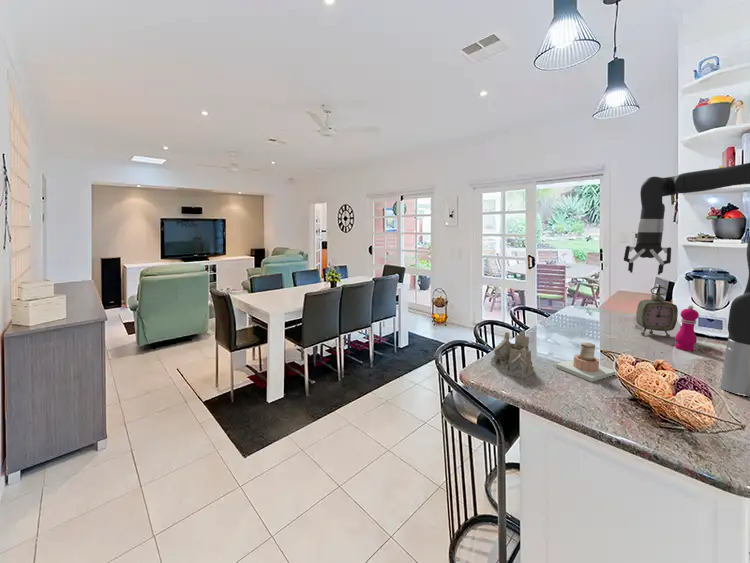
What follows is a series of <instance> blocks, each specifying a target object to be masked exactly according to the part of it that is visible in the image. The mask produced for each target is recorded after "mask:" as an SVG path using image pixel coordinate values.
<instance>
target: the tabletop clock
mask: <svg viewBox="0 0 750 563" xmlns="http://www.w3.org/2000/svg"><path fill="white" fill-rule="evenodd" d="M655 289H664V290H665V292H664V293H661V292H660V291H658V292H657V293H655V292H653V290H655ZM650 293H651V294H653V295H654V296H652V297H651V299H643V300H640V301H639V303H638V304H637V308H636V313H635V314H636V317H635V318H636V319H635V320H636V324H637V325H639V326H640V327H642V328H643V331H642V332H640V334H641V335H642V336H645V333H646V331H647V330H649V331H648V332H649V334H650V335H653V333H654V331H658V332H659V331H660V332H665V337H666V338H670V337H671V334H670V333H668V332H669V331H670V332H671V331H673V330H674V329H675V327H676V324H677V321H678V314H679V311H678V310H679V309H678V306H677V305H676V304H674V303H673V302H669V301H667V300H665V298H664V297H663V295H666V294H668V289H667V288H666V287H664V286H654V287H652V288H651V289H650Z"/></svg>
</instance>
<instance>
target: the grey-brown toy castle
mask: <svg viewBox="0 0 750 563" xmlns="http://www.w3.org/2000/svg"><path fill="white" fill-rule="evenodd" d="M529 343H530V336H526V330H525V329H522V330H521V331H520V332H519V334H515V339H514V343H512V342H510V332H508V331H505V332H504V339H503V340H502V341H501V342H500V343H498V345H496V346H495V347H494V349H493V353H494V354H493V356H492V357H491V359H490V365H492V366H493V367H495V368H496V369H497V370H499V371H500V372H502V373H503V374H505V375H507V376H511V377H517V378H523V379H526V378H529V377H530V376H532V375H533V374H534V373H535V372H534V371H535V370H534V368H535V367H534V366H533V361H532V351H531V350H530V349H529Z"/></svg>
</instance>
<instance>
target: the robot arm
mask: <svg viewBox="0 0 750 563" xmlns="http://www.w3.org/2000/svg"><path fill="white" fill-rule="evenodd" d="M741 185H750V162H746V163H742V164H737V165H732V166H724V167H718V168H711V169H703V170H696V171H691V172H690V171H689V172H683V173H680V174H677V175H674V176H667V177H660V176H651V177H647V178H646V179H645V180H644V181H643V182H642V184H641V186H640V195H639V196H640V203H641V210H640V218H639V219H640V220H639V222H638V226H637V227H638V228H637V236H636V243H635V244H636V245H635V246H630V245H627V246H626V247H625V252H624V256H623V261H624V262H627V263H628V268H627V271H628V272H629V273H631V274H632V273H633V270H634V262H635V261H636V260H637V259H638V258H643V259H644V258H648V259H655V260H656V261H657V262H658V263H659V264H658V270H657V275H659V276H660V275H661V274H663V272H664V265H666V264H671V259H672V247H670V246H669V247H662V241H663V234H664V227H665V226H664V218H665V212H666V207H665V204H664V203H663V197H668V196H673V195H679V194H689V193H698V192H705V191H712V190H717V189H722V188H727V187H733V186H741ZM747 240H748V242H747V246H746V260H747V267H748V278H747V283H746V286H745V289H744V292H743V294H740V295H738V296H736V297H735V298H734V299H733V300H732V302H731V304H730V308H729V313H728V321H727V332H728V337H727V343H726V349H725V355H724V361H723V367H722V372H721V377H720V378H721V379H720V385H719V388H720V387H721V388H722V389H721V388H720V389H721V390H723V389H724V390H723V391H725V390H726V391H725V392H727V391H729V392H734V393H740V394H745V395H747V396H748V397H747V398H749V397H750V235H749V236H748V239H747ZM633 250H634V251H635V253H636V254H635V255H633V257H631V258H629V255H630V253H631V252H632V251H633ZM662 251H663V252H664V254H666V260H663V258H662V257H661V256H660V255H659V254H660V253H661V252H662ZM729 392H728V393H729Z"/></svg>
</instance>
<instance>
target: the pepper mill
mask: <svg viewBox="0 0 750 563" xmlns="http://www.w3.org/2000/svg"><path fill="white" fill-rule="evenodd" d="M699 314H700V313H699V312H698V310H695V309H694V306H693V305H688V306H687V308H684V309H682V310H681V311H680V317H681V320H680V322H681V327H680V329H679V330H678V332H677V333H676V335H675V336H674V340H675V341H676V343H675V346H674V347H675V348H676V349H678V350H680V351H685V352H694V351H695V346H694V345H695V344H697V341H698V340H697V335H696V333H695V324H697V323H696V322H697V319H698V318H699Z"/></svg>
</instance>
